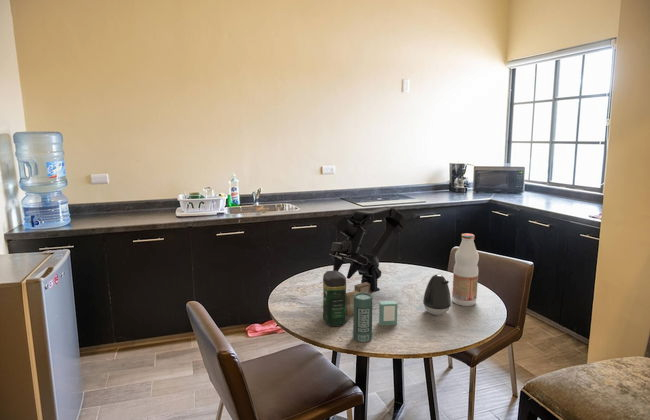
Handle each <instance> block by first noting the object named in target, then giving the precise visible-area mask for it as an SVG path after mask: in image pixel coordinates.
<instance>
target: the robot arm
mask: <svg viewBox="0 0 650 420" xmlns="http://www.w3.org/2000/svg"><path fill="white" fill-rule="evenodd" d="M383 219H384V222H385V224H384V226H385V227H384V228H385V229H384V231H383V232H382V234H381V235H380V236H379V238H378V239H377V241H376V242H375V244H374V246H373V247H372V249H371V250H370V251H369V253H362V254H360V253H358V252H359V249H362V247H363V246H362V241H363V238H364V235H367V234H368V230H367V227H369V226H371V225H373V224H374V222H375V221H379V220H383ZM406 226H407V220H406V218H405V217H404V216H403V214H401V213H400V212H399V211H397V209H396V208H395V207H392V206H391V207H390V206H384V207H381V208H378V209H372V210H367V211H366V210H356V211H354V213H353V214H352V215H351V216H350V217H349V216H346V215H344V216H343V218H341V219H339V221H337V223H336V230H337V231H338V232H339V233H341V234H342V235H344V236H346V237H347V239H344V240H343V241H342V242H339V241H338V242H332V244H331V249H330V251H329V252H328V254H329V256H330V257H331V259H332V261H333V262H332V263H333V265H332V266H333V267H332V268H333V269H332V271H338V272H340V271H339V270H340V269H341V268H342V265H343V264H344V262H345V259H348V261H349V269H348V270H347V271H348V272H347V275H346V279H348V280H349V279H350V278H352V277H353V276H354V275H355V274H356V272H358V275H360V276H361V280H360V284H361V283H365V282H367V283H369V284H370V293H373V292H376V291H379V290H380V287H378V279H380V277H381V276H382V271H381V269H380V268H379V267H380V259H381V257H382V256H383V254H384V252H386V250H387V248H389V247H388V246H389V245H390V244H391V243H392V240H393V239H394V237H395V236H397V235H398V234H401V233H402V232H403V231H404V229H405V228H406Z"/></svg>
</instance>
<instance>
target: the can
mask: <svg viewBox="0 0 650 420" xmlns="http://www.w3.org/2000/svg"><path fill="white" fill-rule="evenodd" d="M373 298H374V297H373V295H372V294H371V293H370V294H368V293H357V294H355V295H354V314H353V319H352V320H353V324H352V325H353V326H352V327H353V329H352V331H353V332H352V334H353V337H352V338H353V340H354V341H356V342H358V343H368V342H371V341H372V340H373V303H374V302H373V300H374V299H373Z"/></svg>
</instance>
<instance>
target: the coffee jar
mask: <svg viewBox="0 0 650 420" xmlns="http://www.w3.org/2000/svg"><path fill="white" fill-rule="evenodd" d="M322 277H323V279H322V283H323V285H322V286H323V290H322V292H323V294H322V295H323V296H322V302H323V303H322V318H323V319H322V320H323V321H324V323H325V324H326V325H328V326H333V327H341V326H343V325H345V324H346V321H347V316H346V293H347V276H345V275H344V274H343V273H342V272H341V271H333V270H327V271H325V273H324V274H323V276H322Z"/></svg>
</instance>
